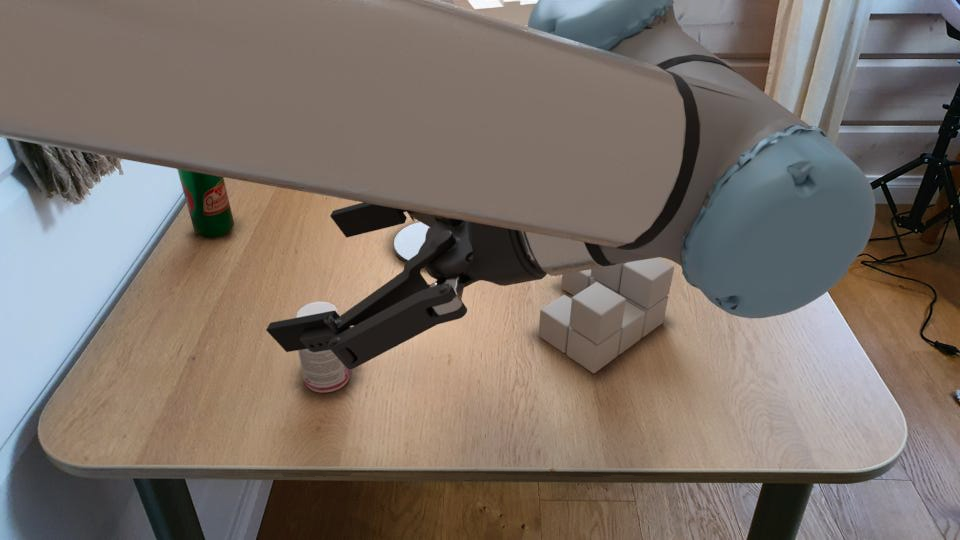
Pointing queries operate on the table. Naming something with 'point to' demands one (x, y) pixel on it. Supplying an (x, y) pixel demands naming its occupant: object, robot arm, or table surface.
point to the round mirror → (410, 240)
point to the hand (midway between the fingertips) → (310, 276)
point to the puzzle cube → (607, 310)
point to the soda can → (207, 203)
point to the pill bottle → (321, 359)
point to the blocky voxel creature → (501, 9)
